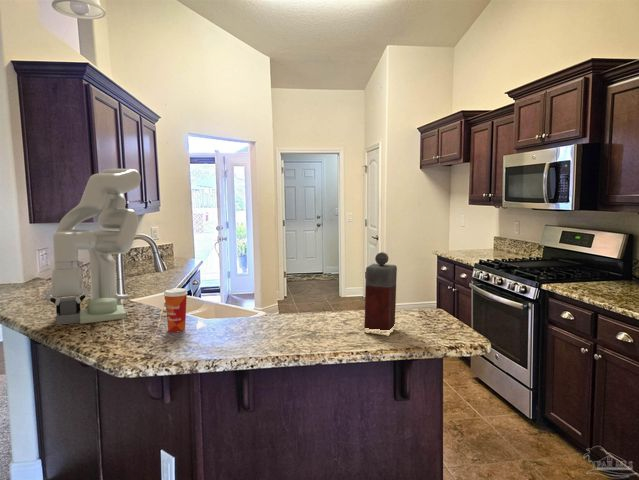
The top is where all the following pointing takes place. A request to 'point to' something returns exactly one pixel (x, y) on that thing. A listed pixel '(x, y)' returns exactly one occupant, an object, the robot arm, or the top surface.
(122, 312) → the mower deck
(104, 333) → the top surface
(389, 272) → the square decanter
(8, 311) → the top surface
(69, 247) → the robot arm
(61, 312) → the grey rectangular block
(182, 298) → the paper cup
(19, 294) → the top surface
